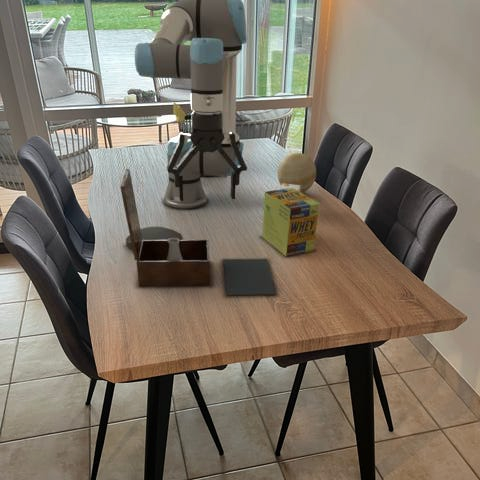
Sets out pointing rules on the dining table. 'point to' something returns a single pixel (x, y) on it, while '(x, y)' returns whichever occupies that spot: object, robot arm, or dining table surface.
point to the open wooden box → (173, 264)
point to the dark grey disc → (155, 234)
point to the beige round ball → (297, 171)
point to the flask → (174, 250)
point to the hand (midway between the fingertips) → (207, 198)
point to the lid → (131, 213)
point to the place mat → (248, 277)
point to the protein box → (290, 221)
